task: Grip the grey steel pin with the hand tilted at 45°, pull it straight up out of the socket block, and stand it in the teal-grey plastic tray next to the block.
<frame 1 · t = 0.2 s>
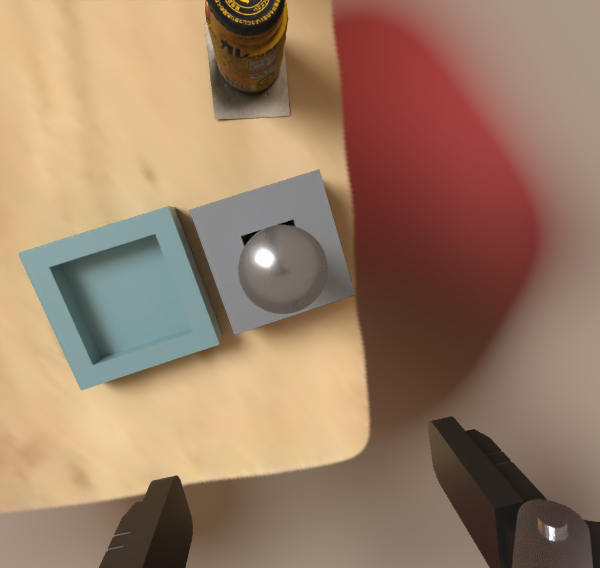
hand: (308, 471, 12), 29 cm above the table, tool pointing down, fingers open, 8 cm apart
socket block: (273, 249, 40), on the table
tray: (133, 294, 39), on the table
steel pin: (277, 257, 32), in the socket block
condiment: (248, 72, 37), on the table
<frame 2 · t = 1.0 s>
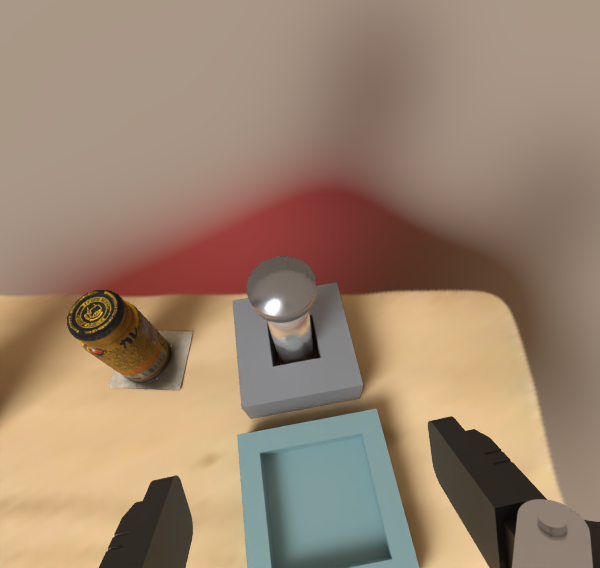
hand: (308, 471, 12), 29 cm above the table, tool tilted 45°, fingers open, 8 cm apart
socket block: (296, 356, 44), on the table
tray: (321, 503, 37), on the table
steel pin: (290, 327, 38), in the socket block
condiment: (153, 359, 46), on the table
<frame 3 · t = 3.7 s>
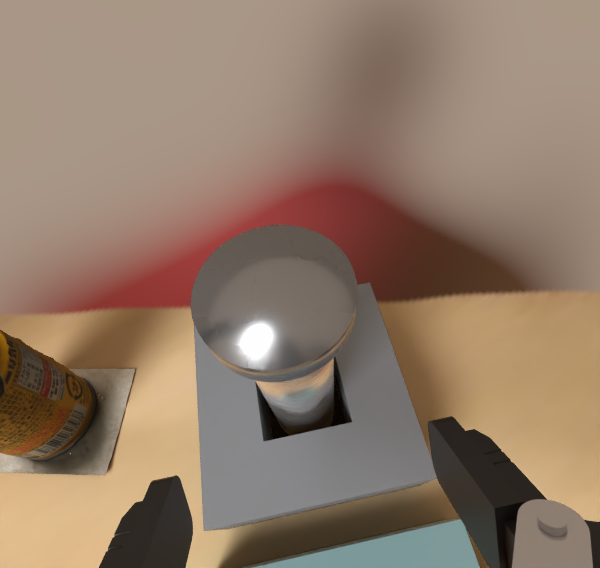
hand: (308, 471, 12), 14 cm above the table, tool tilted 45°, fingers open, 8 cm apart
socket block: (305, 408, 27), on the table
steel pin: (294, 369, 20), in the socket block
condiment: (68, 418, 28), on the table
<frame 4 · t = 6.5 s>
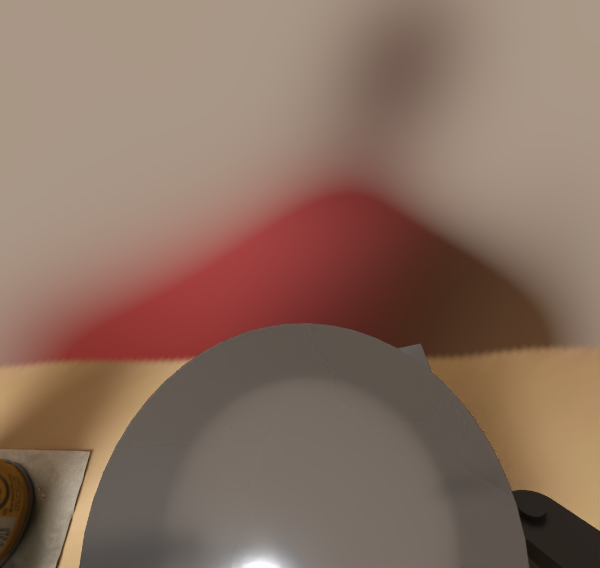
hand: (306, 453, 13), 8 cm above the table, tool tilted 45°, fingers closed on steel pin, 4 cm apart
socket block: (325, 520, 19), on the table
steel pin: (319, 520, 12), in the socket block, touching gripper
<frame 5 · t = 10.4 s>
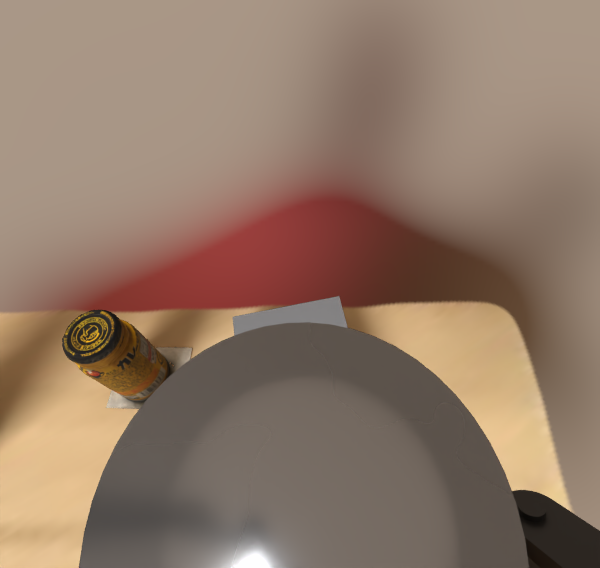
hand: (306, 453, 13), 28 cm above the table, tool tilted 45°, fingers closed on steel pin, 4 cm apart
socket block: (299, 372, 43), on the table
steel pin: (319, 519, 12), point 28 cm above the table, touching gripper
condiment: (152, 377, 45), on the table
when the fingers open (10 cm above the table, at t = 14.7 s): steel pin drops 1 cm, resting on tray.
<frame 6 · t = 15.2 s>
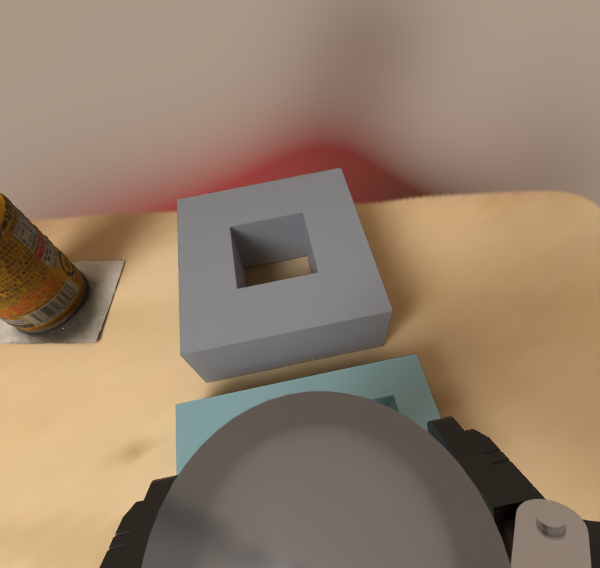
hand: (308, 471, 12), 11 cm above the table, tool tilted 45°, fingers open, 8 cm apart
socket block: (281, 288, 29), on the table
tray: (325, 520, 21), on the table
steel pin: (325, 535, 13), in the tray, point 9 cm above the table
condiment: (62, 302, 30), on the table
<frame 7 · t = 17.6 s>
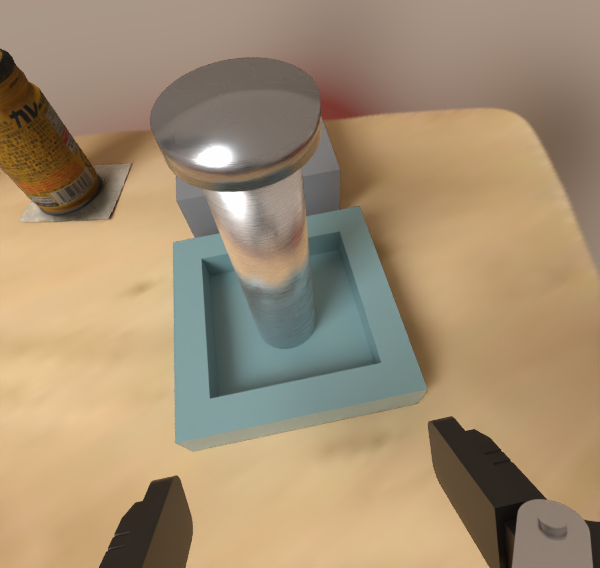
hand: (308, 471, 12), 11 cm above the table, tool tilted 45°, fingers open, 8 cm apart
socket block: (259, 180, 35), on the table
tray: (287, 325, 27), on the table
steel pin: (269, 251, 19), in the tray, point 9 cm above the table
condiment: (79, 194, 36), on the table
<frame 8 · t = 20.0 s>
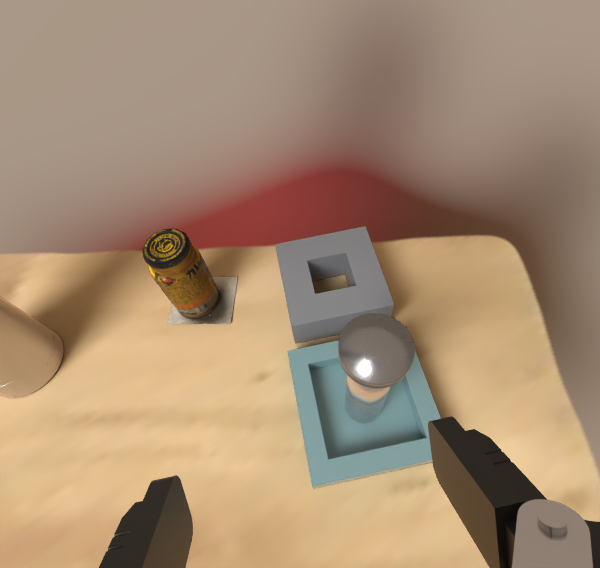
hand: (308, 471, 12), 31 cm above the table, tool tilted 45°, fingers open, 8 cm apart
socket block: (331, 293, 51), on the table
tray: (362, 405, 43), on the table
steel pin: (368, 381, 35), in the tray, point 9 cm above the table
condiment: (204, 300, 52), on the table
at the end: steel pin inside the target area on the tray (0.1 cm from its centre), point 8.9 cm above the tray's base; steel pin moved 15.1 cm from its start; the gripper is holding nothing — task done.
